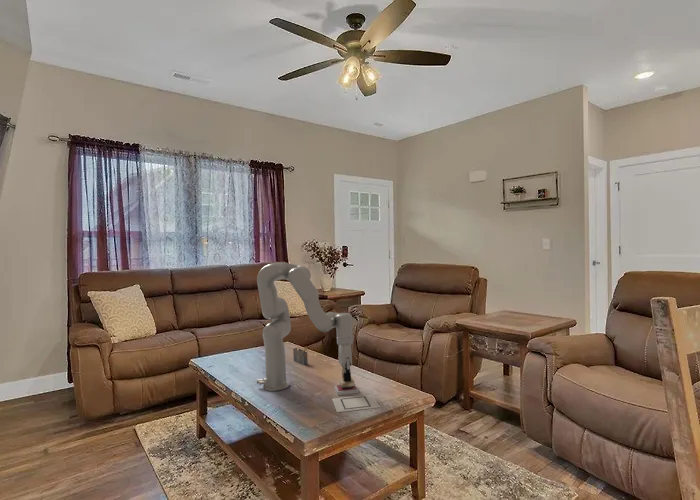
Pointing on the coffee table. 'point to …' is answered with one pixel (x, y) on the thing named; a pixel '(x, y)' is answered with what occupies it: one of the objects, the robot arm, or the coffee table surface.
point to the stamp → (348, 383)
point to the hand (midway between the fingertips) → (346, 379)
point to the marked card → (355, 403)
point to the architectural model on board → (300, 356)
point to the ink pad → (346, 390)
